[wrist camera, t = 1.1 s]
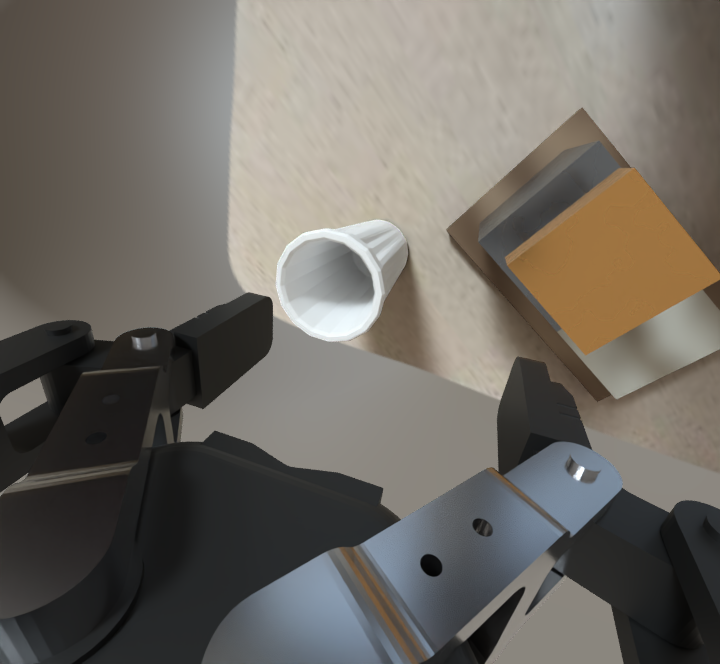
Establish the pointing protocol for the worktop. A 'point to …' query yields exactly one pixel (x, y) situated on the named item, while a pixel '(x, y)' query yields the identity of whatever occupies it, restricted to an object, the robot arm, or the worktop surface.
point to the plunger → (611, 262)
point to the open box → (543, 205)
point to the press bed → (627, 352)
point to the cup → (340, 278)
